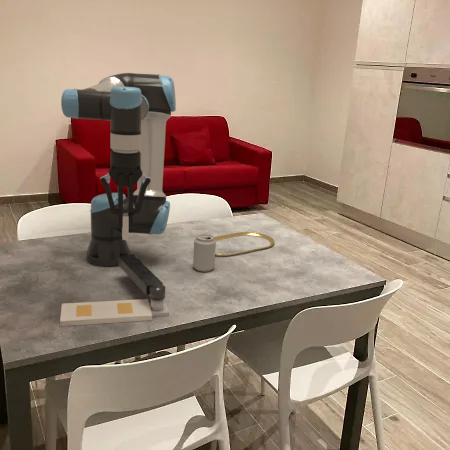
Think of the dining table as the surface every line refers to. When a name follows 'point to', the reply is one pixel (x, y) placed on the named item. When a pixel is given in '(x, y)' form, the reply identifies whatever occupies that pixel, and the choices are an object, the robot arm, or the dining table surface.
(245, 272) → the dining table surface
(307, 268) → the dining table surface
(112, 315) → the panel
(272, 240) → the curved rod
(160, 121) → the robot arm
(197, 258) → the can
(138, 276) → the swing arm
